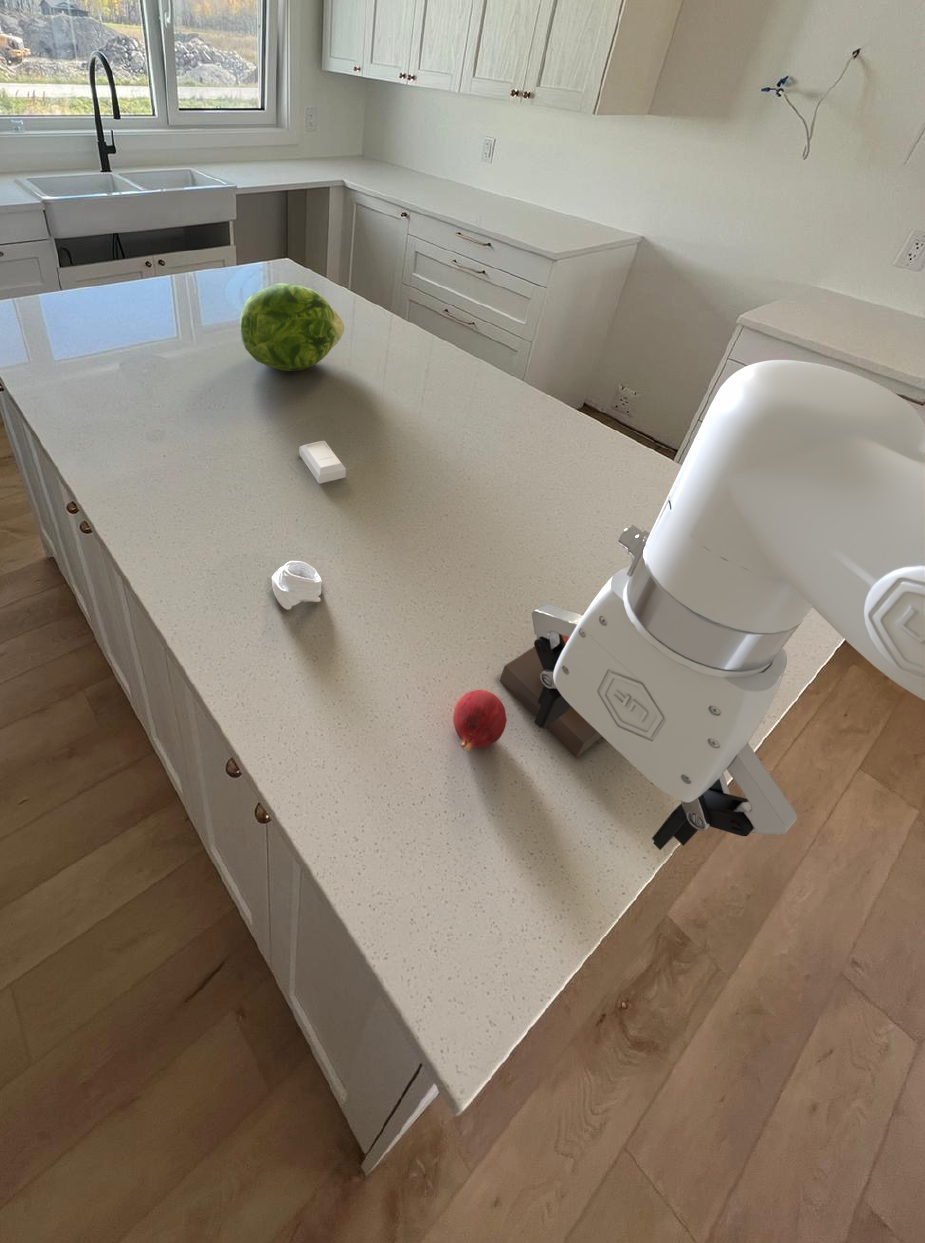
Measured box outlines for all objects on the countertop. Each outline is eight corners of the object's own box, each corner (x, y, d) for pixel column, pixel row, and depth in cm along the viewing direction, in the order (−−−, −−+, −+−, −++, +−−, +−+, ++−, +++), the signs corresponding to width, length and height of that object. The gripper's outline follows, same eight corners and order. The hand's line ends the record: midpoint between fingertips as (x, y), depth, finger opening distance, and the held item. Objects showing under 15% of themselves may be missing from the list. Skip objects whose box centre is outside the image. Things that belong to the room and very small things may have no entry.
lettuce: (356, 375, 140) (365, 292, 132) (260, 383, 128) (264, 292, 120) (314, 352, 154) (320, 275, 146) (223, 357, 142) (224, 274, 134)
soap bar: (318, 483, 107) (319, 471, 106) (299, 455, 114) (299, 442, 112) (345, 477, 109) (346, 465, 108) (324, 449, 115) (325, 437, 114)
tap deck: (635, 709, 76) (644, 694, 74) (575, 758, 71) (583, 742, 69) (558, 641, 84) (564, 626, 82) (498, 680, 78) (504, 665, 76)
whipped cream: (263, 585, 89) (259, 560, 86) (305, 565, 92) (302, 541, 89) (289, 621, 84) (285, 595, 81) (333, 599, 86) (330, 574, 84)
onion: (471, 666, 72) (445, 720, 67) (520, 689, 70) (496, 746, 65) (463, 696, 76) (437, 750, 70) (509, 718, 74) (486, 775, 68)
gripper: (532, 528, 36) (477, 702, 46) (857, 775, 25) (690, 930, 36) (612, 487, 40) (545, 657, 50) (926, 687, 29) (757, 851, 39)
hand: (605, 770), depth 43 cm, fingers open, 9 cm apart
